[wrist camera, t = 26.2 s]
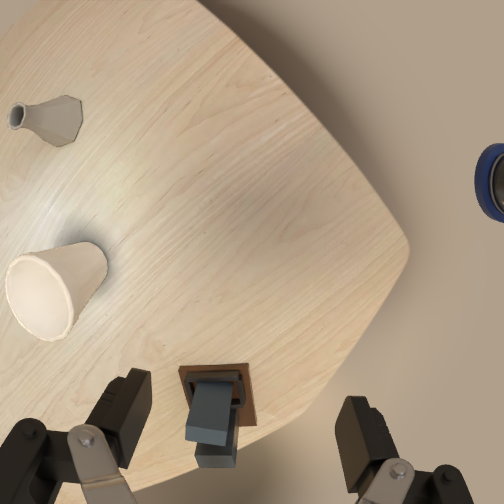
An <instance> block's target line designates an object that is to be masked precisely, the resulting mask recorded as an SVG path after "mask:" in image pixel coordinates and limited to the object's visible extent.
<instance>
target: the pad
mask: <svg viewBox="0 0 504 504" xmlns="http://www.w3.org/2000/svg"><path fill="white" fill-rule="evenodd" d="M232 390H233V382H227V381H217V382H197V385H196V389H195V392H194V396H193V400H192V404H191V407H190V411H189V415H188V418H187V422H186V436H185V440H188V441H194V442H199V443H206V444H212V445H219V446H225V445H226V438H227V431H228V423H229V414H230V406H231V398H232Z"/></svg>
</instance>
